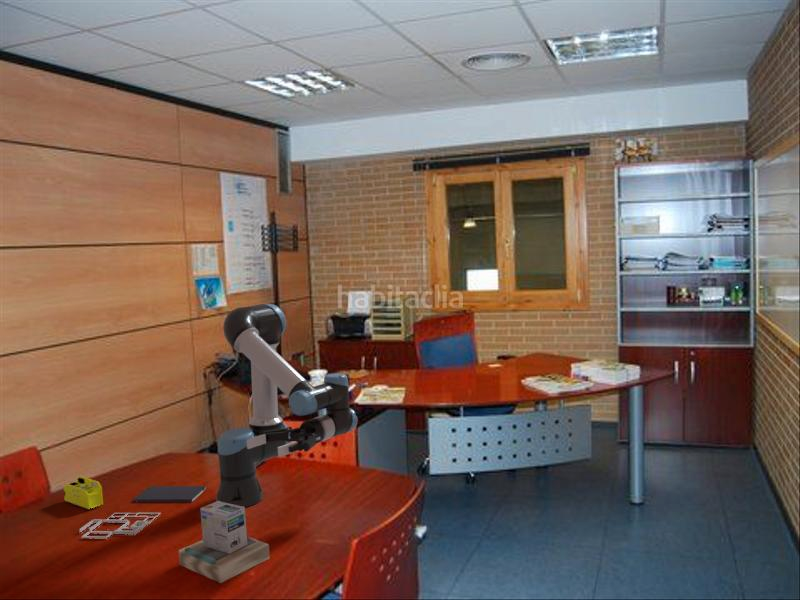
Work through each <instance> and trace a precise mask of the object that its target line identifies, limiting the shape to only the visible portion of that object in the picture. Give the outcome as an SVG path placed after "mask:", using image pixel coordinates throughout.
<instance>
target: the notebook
mask: <svg viewBox="0 0 800 600" xmlns="http://www.w3.org/2000/svg"><path fill="white" fill-rule="evenodd" d="M206 487H207V486H206V485H169V486H168V485H153V486H149V487H147V488H146V489H144V490H143V491H142V492H140V493H139V494H138V495H136V496H135V497H133V499H132V501H131V502H132V503H193V502H194V501H196V499H197V498H199V496H200V495H201V494H202V493H204V492H205V491H206V490H205V489H206ZM136 501H138V502H136ZM141 501H142V502H141Z"/></svg>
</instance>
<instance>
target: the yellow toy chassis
mask: <svg viewBox="0 0 800 600" xmlns="http://www.w3.org/2000/svg"><path fill="white" fill-rule="evenodd" d="M63 496H64V502H67V503H71V504H73V505H74V506H76V505H77V507H78V506H79V507H81V508H84V509H87V510H91V509H92V508H93V509H95V507H96V508H98V507H100V506H102V505H104V498H103V487H102V485H101V484H100V482H99V481H97V480H94V479H90V478H88V477H85V476H82V475H78V476H77V478H76V482H75V481H74V482H71V483H65V484H64V485H63ZM97 506H98V507H97ZM90 508H91V509H90Z"/></svg>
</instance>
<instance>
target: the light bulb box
mask: <svg viewBox="0 0 800 600" xmlns="http://www.w3.org/2000/svg"><path fill="white" fill-rule="evenodd" d="M199 510H200V519H201V520H200V521H201V531H202V533H201V534H202V535H201V536H202V540H203V546H205V547H209V548H212V549H215V550H218V551H222V552H225V553H228V554H230V553H232V552H234V551H236V550H238V549H240V548H242V547H244V546H246V545H247V536H248V535H247V534H248V533H247V521H246V507H243V506H238V505H233V504H229V503H225V502H221V501H214V502H212V503H210V504H207V505H205V506H202V507H200V509H199Z"/></svg>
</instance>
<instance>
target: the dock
mask: <svg viewBox="0 0 800 600" xmlns="http://www.w3.org/2000/svg"><path fill="white" fill-rule="evenodd" d="M270 558H271V557H270V544H269V543H266V542H264V541H261V540H259V539H256V538H253V537H251V536H248V535H247V545H246V546H244V547H242V548H240V549H238V550H236V551H234V552H232V553H230V554H228V553H225V552H222V551H218V550H215V549H212V548H209V547H205V546H203V539H202V540H199V541H197V542H195V543H193V544H191V545H188V546H186V547H183V548H181V549H179V550H178V561H179V566H182V567H184V568H186V569H188V570H190V571H192V572H194V573H195V572H196V573H197V574H199V575H202V576H203V577H206V578H208V579H211V580H213V581H215V582H218V583H220V584H222V583H224V582H226V581H228V580H229V579H232V578H234V577H236V576H237V575H239V574H242V573H244V572H246V571H247V570H249V569H251V568H253V567H256V566H258V565H259V564H262V563H264V562H265V561H267V560H270Z"/></svg>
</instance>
